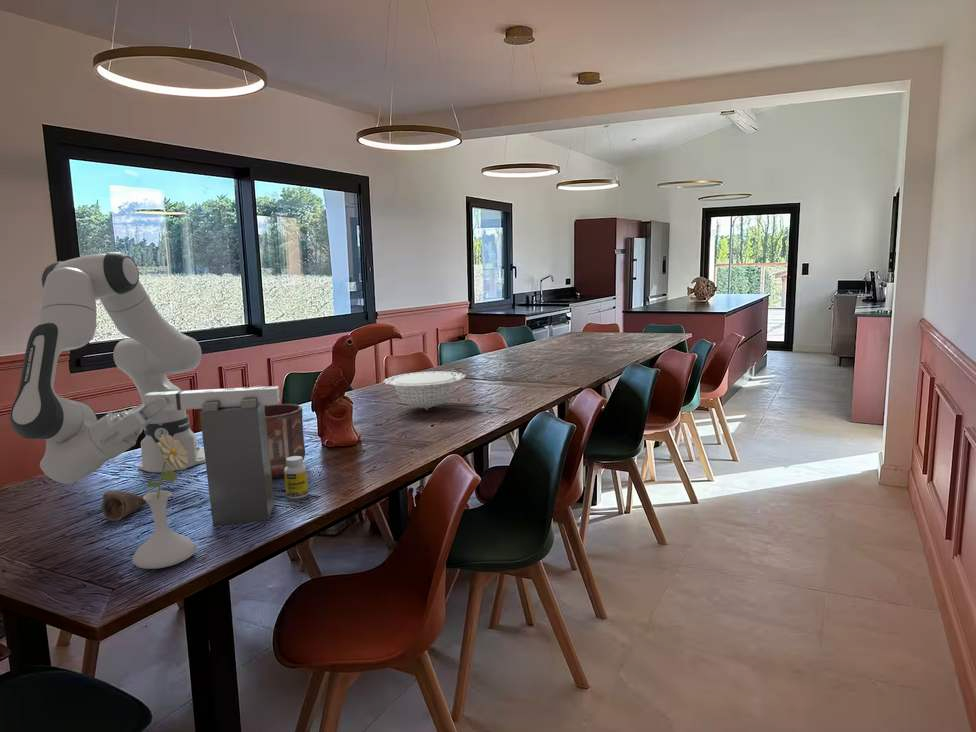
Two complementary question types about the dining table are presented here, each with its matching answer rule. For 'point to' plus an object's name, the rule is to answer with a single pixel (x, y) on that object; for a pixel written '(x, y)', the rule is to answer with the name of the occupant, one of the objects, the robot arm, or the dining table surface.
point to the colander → (425, 386)
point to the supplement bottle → (295, 478)
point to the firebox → (237, 462)
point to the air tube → (214, 397)
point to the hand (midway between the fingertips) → (169, 398)
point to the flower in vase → (164, 516)
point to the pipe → (120, 504)
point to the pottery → (284, 435)
